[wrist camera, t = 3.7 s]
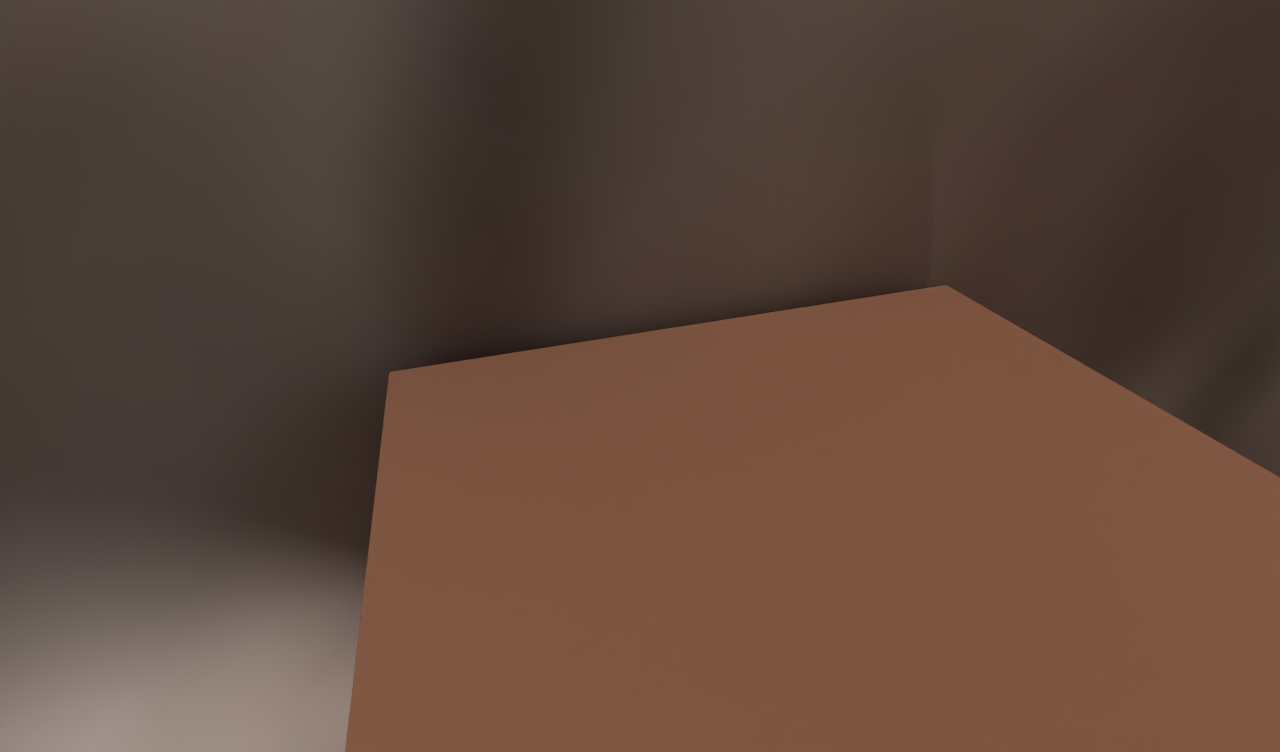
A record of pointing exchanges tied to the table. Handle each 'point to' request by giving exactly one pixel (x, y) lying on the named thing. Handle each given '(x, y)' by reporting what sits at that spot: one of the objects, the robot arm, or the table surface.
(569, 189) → the table surface
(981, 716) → the terracotta cube
